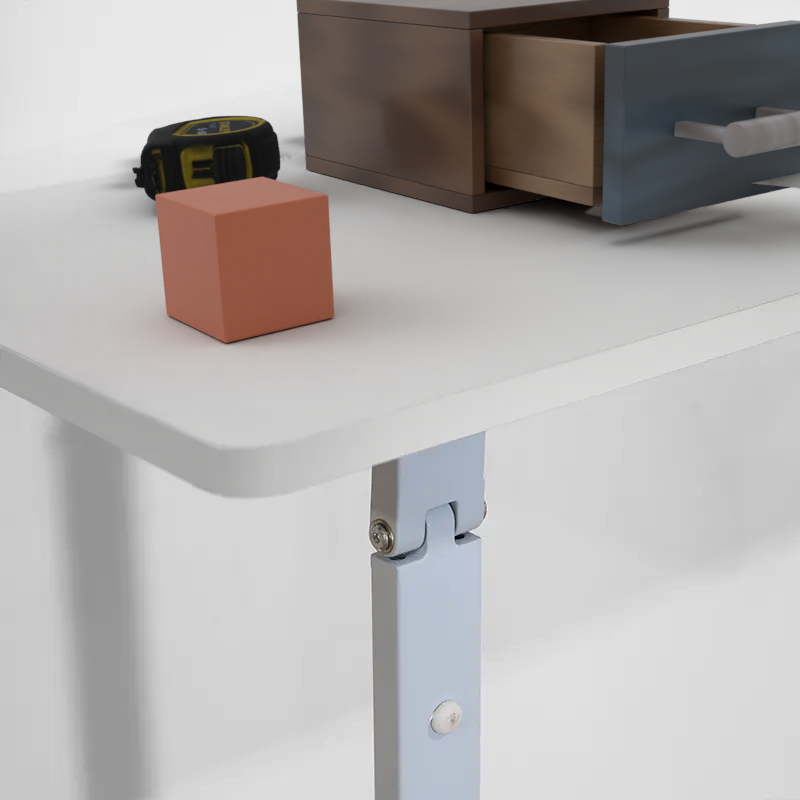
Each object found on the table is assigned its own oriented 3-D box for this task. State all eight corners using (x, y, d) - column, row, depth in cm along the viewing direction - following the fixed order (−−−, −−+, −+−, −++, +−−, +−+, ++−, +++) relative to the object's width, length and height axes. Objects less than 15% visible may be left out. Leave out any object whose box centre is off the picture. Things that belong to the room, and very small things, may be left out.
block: (271, 291, 54) (263, 175, 52) (335, 317, 50) (328, 194, 49) (166, 315, 51) (154, 194, 50) (225, 343, 48) (215, 215, 46)
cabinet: (664, 174, 72) (670, -10, 68) (472, 213, 65) (469, 11, 62) (485, 139, 83) (483, -20, 80) (305, 169, 76) (295, -4, 73)
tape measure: (153, 188, 73) (145, 116, 71) (284, 182, 73) (279, 110, 72) (137, 218, 66) (129, 139, 65) (281, 210, 67) (275, 132, 65)
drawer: (879, 199, 61) (894, 27, 58) (697, 244, 55) (705, 54, 52) (598, 147, 74) (600, 6, 72) (426, 179, 68) (422, 25, 66)
